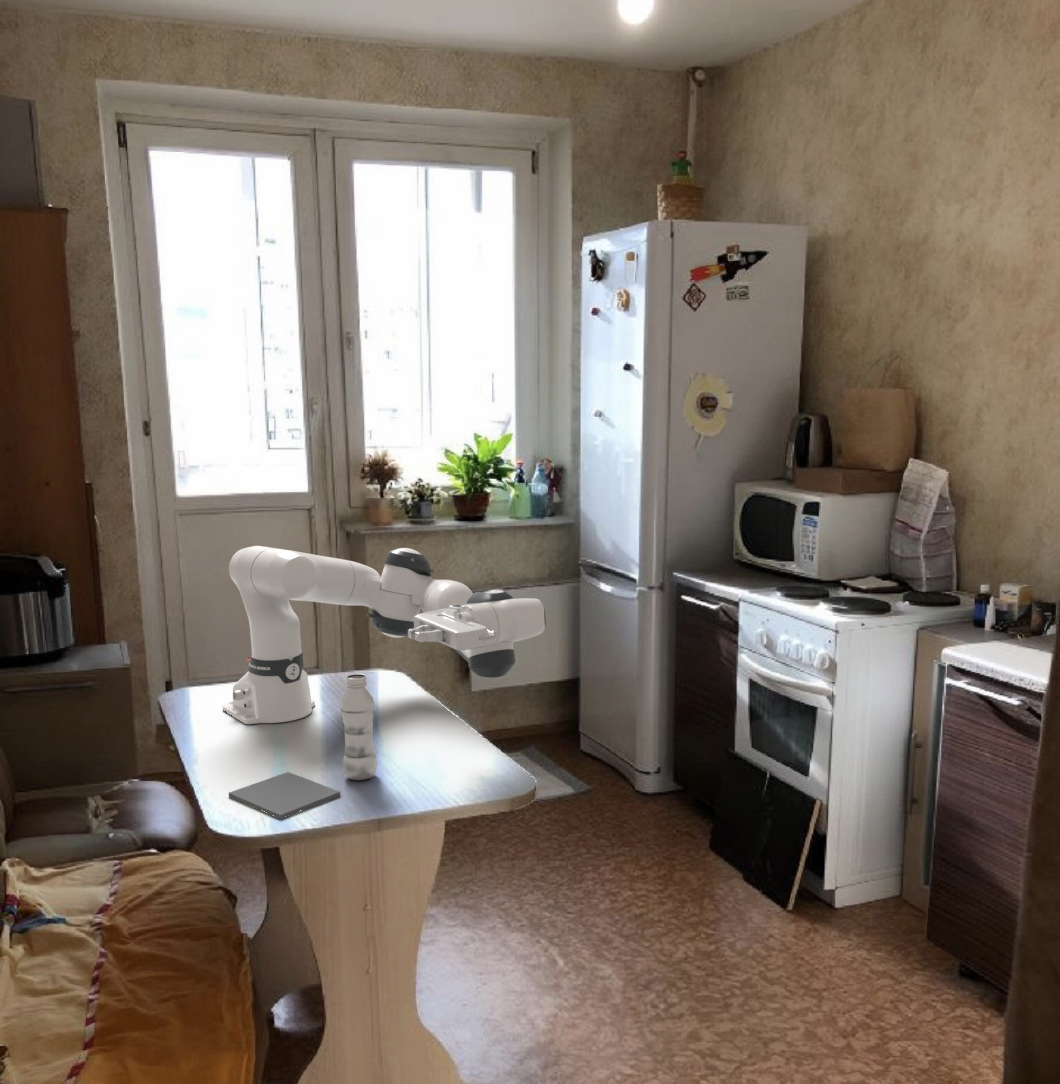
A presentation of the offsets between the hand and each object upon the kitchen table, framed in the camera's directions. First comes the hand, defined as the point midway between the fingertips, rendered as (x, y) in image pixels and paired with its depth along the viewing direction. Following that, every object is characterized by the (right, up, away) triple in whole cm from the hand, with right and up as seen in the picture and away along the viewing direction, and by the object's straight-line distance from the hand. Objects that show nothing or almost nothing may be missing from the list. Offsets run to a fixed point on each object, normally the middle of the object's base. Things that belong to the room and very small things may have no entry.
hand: (412, 636), depth 190 cm
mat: (-22, -28, -11) cm, 38 cm away
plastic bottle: (-10, -27, -3) cm, 29 cm away
